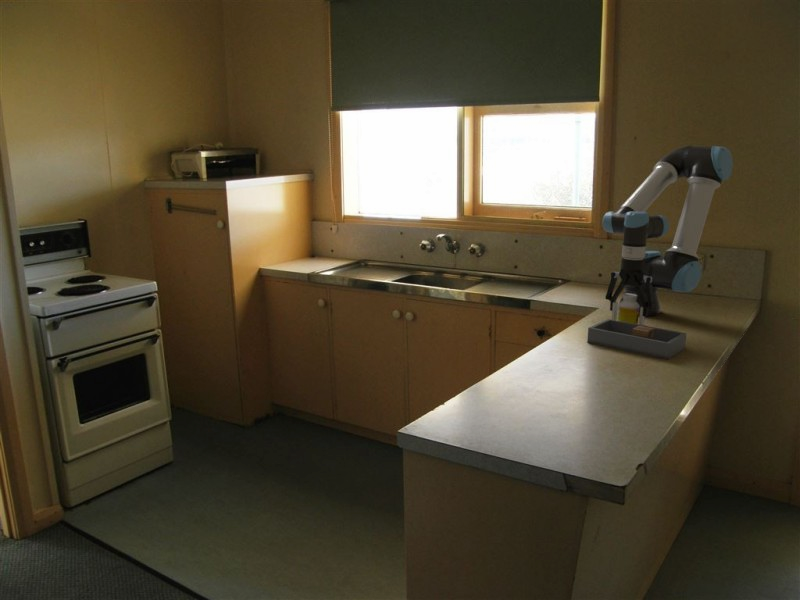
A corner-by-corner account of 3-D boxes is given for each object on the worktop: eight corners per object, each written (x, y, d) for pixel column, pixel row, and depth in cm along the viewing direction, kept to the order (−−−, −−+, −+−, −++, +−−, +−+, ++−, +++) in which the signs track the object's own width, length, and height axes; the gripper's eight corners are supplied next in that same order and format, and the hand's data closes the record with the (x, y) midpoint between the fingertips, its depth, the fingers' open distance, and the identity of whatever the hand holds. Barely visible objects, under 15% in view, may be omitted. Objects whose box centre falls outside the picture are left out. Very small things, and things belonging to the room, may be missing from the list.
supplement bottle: (638, 334, 237) (641, 297, 234) (617, 333, 238) (620, 296, 235) (635, 329, 243) (639, 293, 240) (616, 328, 244) (618, 292, 241)
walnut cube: (637, 340, 226) (638, 325, 225) (652, 343, 223) (654, 328, 222) (631, 343, 222) (632, 328, 221) (646, 347, 219) (647, 331, 218)
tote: (607, 333, 238) (608, 318, 237) (684, 348, 221) (686, 333, 220) (587, 342, 227) (588, 327, 225) (667, 359, 210) (669, 343, 209)
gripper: (597, 255, 239) (593, 319, 244) (661, 263, 225) (654, 330, 230) (607, 253, 244) (602, 315, 249) (669, 260, 230) (663, 326, 236)
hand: (627, 322), depth 240 cm, fingers open, 9 cm apart
